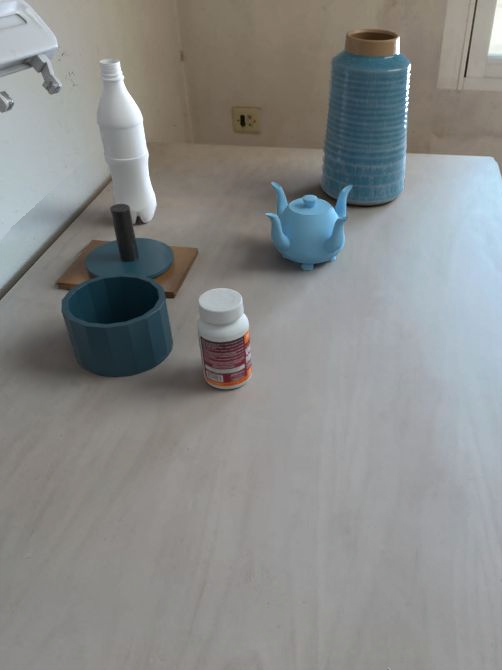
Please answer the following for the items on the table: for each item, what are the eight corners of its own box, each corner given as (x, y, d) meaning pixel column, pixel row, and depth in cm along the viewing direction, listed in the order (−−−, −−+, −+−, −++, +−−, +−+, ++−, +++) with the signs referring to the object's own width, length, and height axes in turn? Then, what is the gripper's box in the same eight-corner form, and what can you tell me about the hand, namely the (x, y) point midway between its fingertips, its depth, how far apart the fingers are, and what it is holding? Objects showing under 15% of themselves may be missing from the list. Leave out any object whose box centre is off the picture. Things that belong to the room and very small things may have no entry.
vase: (326, 172, 130) (330, 21, 112) (405, 178, 129) (422, 26, 111) (315, 205, 118) (318, 42, 100) (401, 212, 117) (420, 48, 99)
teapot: (345, 279, 99) (348, 218, 92) (261, 273, 99) (259, 212, 92) (349, 241, 108) (352, 183, 101) (273, 236, 109) (271, 178, 102)
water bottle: (154, 227, 110) (127, 68, 93) (113, 226, 110) (78, 66, 93) (162, 210, 115) (138, 56, 98) (123, 209, 115) (92, 54, 98)
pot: (60, 371, 80) (44, 322, 75) (97, 317, 89) (85, 270, 84) (156, 380, 79) (146, 331, 74) (183, 325, 88) (176, 277, 83)
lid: (72, 282, 94) (56, 224, 88) (105, 241, 104) (93, 186, 98) (159, 290, 93) (149, 231, 87) (184, 247, 103) (177, 192, 97)
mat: (58, 288, 95) (56, 282, 94) (93, 245, 105) (92, 239, 104) (174, 298, 93) (173, 292, 93) (198, 253, 104) (198, 248, 103)
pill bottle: (259, 384, 79) (255, 307, 71) (212, 396, 77) (202, 318, 69) (242, 357, 83) (237, 281, 76) (197, 368, 81) (187, 291, 74)
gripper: (-111, -2, 72) (-17, 103, 76) (17, -23, 86) (91, 66, 90) (-123, 38, 76) (-33, 136, 80) (1, 11, 90) (72, 96, 94)
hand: (34, 99), depth 85 cm, fingers open, 8 cm apart
